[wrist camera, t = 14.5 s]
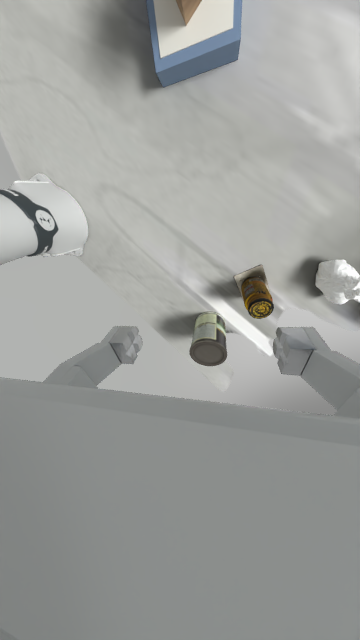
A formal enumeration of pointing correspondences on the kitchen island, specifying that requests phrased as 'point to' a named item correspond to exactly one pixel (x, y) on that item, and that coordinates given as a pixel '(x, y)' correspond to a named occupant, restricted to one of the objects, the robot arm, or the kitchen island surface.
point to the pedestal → (193, 37)
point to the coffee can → (209, 340)
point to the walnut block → (188, 8)
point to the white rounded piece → (338, 281)
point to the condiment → (255, 292)
